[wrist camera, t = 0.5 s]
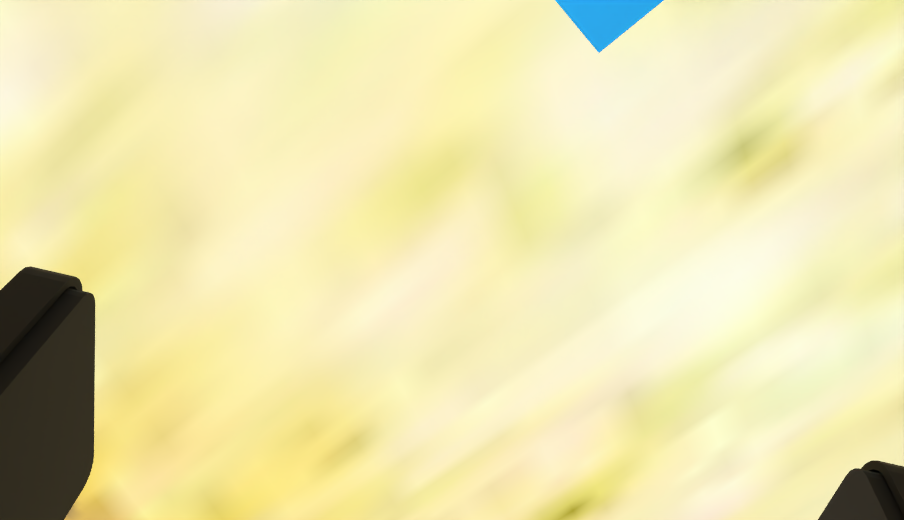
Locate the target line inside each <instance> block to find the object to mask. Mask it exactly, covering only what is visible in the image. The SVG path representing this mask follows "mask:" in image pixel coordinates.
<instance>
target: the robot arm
mask: <svg viewBox="0 0 904 520" xmlns="http://www.w3.org/2000/svg"><path fill="white" fill-rule="evenodd" d="M94 372H95V298H94V296H93V294H91V293H88V292H84V291H82V284H81V282H80V279H78V278H77V277H74V276H69V275H65V274H61V273H56V272H52V271H48V270H43V269H39V268H34V267H25V268H24V269H23V270H21V271H20V272H19V273H18V274H17V275H16V276H15V277H14V278H13V279H12V280H11V281H9V282H8V283H7V284H6V285H5V286H4V287H3V288H2V289H1V290H0V520H64V519H65V517H66V515H67V514H68V512H69V511H70V509H71V507H72V506H73V504H74V503H75V501H76V499H77V498H78V496H79V494H80V493H81V491H82V490H83V488H84V486H85V484H86V482H87V480H88V477H89V475H90V472H91V468H92V464H93V457H94ZM818 520H904V467H903V466H898V465H894V464H890V463H885V462H881V461H870V462H868V463H866V464H865V465H864V466H863V467H862V468H861V469H853V470H851V471H850V472H849V473H848V474H847V475H846V477H845V478H844V480H843V481H842V483H841V484H840V486H839V488H838V489H837V491H836V492H835V494H834V495H833V497H832V499H831V500H830V502H829V503H828V505H827V506H826V508H825V510H824V511H823V513H822V514H821V516H820V517H819V519H818Z"/></svg>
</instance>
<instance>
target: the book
mask: <svg viewBox="0 0 904 520" xmlns="http://www.w3.org/2000/svg"><path fill="white" fill-rule="evenodd" d="M662 1H663V0H556V2H557V3H558V4H559V5H560V6H561V8H562V9H563V10H564V11H565V12H566V14H567V15H568V16H569V17H570V18H571V20H572V21H573V22H574V23H575V25H576V26H577V27H578V28H579V29H580V31H581V32H582V33H583V34H584V35H585V37H586V38H587V39H588V40H589V41H590V43H591V44H592V45H593V46H594V47H595V49H596V50H597V51H598V52H600V51H602V50H603V49H604V48H605V47H607V46H608V45H609V44H610V43H612V42H613V41H614V40H615V39H616V38H618V37H619V36H620V35H621V34H623V33H624V32H625V31H626V30H628V29H629V28H630V27H631V26H632V25H634V24H635V23H636V22H637V21H639V20H640V19H641V18H642V17H644V16H645V15H646V14H647V13H649V12H650V11H651V10H652V9H653V8H655V7H656V6H657V5H658V4H660V3H661V2H662Z"/></svg>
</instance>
